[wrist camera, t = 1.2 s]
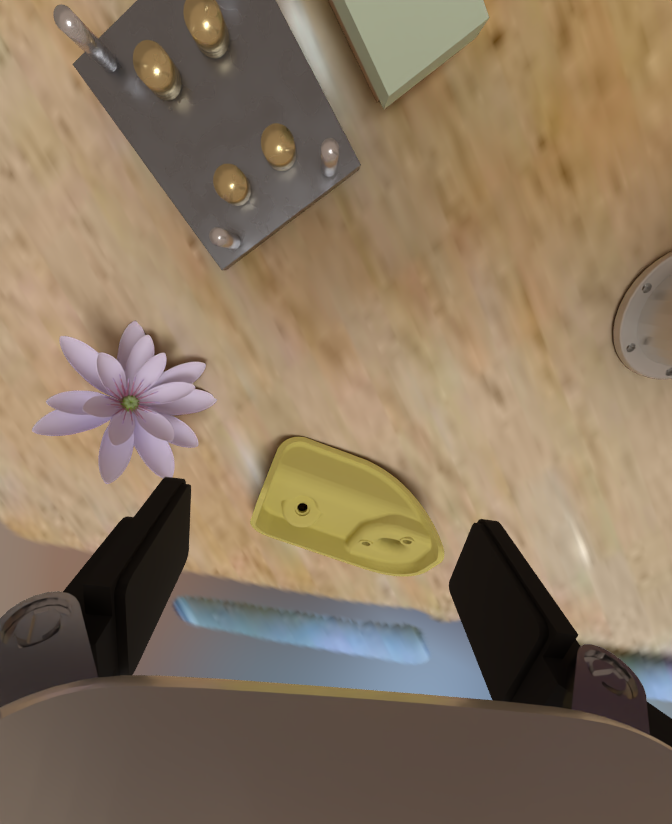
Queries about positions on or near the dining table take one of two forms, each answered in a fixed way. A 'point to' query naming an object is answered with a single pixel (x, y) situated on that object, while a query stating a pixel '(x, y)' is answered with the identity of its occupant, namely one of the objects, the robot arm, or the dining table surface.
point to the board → (408, 38)
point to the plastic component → (345, 510)
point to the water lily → (128, 403)
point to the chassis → (218, 113)
